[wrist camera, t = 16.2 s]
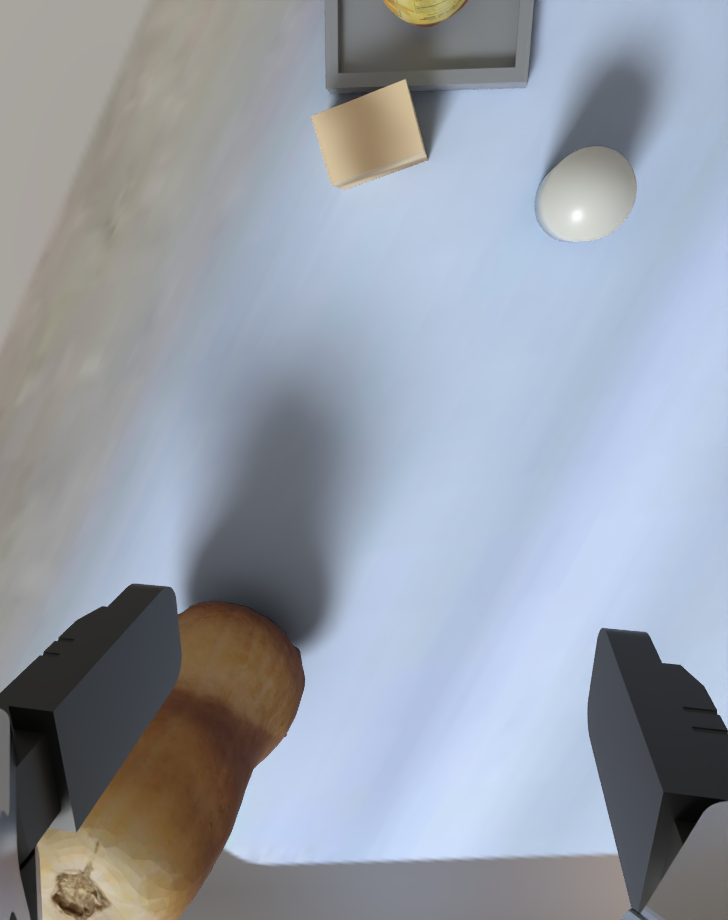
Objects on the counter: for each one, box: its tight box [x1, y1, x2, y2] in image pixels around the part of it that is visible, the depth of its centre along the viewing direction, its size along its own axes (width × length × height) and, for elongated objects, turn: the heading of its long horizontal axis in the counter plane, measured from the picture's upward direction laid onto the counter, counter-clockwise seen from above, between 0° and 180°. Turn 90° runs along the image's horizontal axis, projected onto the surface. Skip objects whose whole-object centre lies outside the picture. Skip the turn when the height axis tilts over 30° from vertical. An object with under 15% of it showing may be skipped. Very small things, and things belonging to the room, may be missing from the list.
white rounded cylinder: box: [535, 146, 637, 242], centre depth 38 cm, size 5×5×6 cm
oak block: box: [311, 79, 428, 190], centre depth 40 cm, size 6×4×4 cm, turn 108°
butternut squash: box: [37, 601, 305, 920], centre depth 45 cm, size 14×13×25 cm
